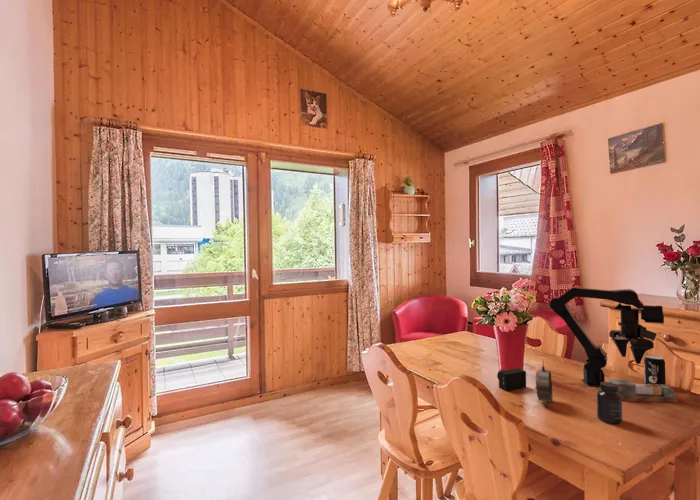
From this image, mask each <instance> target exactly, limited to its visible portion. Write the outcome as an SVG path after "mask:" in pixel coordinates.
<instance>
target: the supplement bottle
mask: <svg viewBox="0 0 700 500" xmlns="http://www.w3.org/2000/svg"><path fill="white" fill-rule="evenodd" d="M596 416H597V418H598V420H600V421H601V422H603V423H605V424H607V425H608V424H609V425H615V426H617V425H618V426H619V425H621V424H622V423H623V400H622V397H621V395H620V394H619V393H618V385H616V384H614V383H611V382H609V381H605V382H600V386H599V390H597V392H596Z"/></svg>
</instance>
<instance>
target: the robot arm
mask: <svg viewBox="0 0 700 500" xmlns="http://www.w3.org/2000/svg"><path fill="white" fill-rule="evenodd" d="M576 297H577V298H589V299H596V300H597V299H598V300H605V301H607V300H608V301H612V302H616V303H618V304H617V305H615V306H614V309H615V310H619V312H620V322H618V326H620V329H611V330H610V331H609V334H608V336H609V338H610V339H611V340H612V342H613V343H614V345H615V346H616V348H617V350H618V352H619V353H620V356H621V357H622V358H626V356H627V350H628V349H627V347H628V344H630V346H629V348H630V350H631V353H632V356H633V359H634V362H635V363H636V365H640V364H641V362H642V360H643V358H644V356H645V353H646V352H647V351H651V350H652V349H654V348H655V345H654V344H655V343H654V341H655V340H656V338H657V337H656V336H657V332H654V331H651V330H648V329H647V327H646V326H643V325H642V324H640V320H642V321H644V323H650V324H660V325H661V324H662V325H664V323H665V316H664V312H663V311H664V309H663V305H650V304H649V305H645V304H644V302H643V301H641V300H640V299H639V295H638V293H637V292H636V290H634V289H631V288H627V289H626V288H625V289H624V288H623V289H612V290H610V289H609V290H608V289H598V288H597V289H596V288H589V287H588V288H586V287H577V286H572V287H571V288H569V290H567V291H566V292H565V293H563V294H562V295H561V296H555V297H553V298H552V299H551V300H550V301H549V303H548V304H549V308H550V309H551V310H552V311H553V312H554V313H555V314H556V315H558V316H559V317H560V318H561V319H562V320H563V321H564V323H565V324H566V325H567V327H568V329H570V331H571V333H572V334H573V335H574V336H575V338H576V339H577V341H578V342H579V344H580V345H581V346H582V347H583V349H584V352H585V354H586V356H587V359H586V360H585V361H584V364H583V369H582V370H583V373H582V374H583V379H582V378H581V381H582V382H583V383H584V384H586V385H587V386H589V387H592V386H593V387H600V382H606V379H605V378H606V377H605V376H606V375H605V373H604V370H603V369H604V368H605V367H606V366H607V363H608V353H607V352H606V351H605V350H604V349H603V347H602V345H601V344H600V345H598V346H597V345H596V344H595V343H594V342H593V341H592V340H591V338H590V337H589V335H588V334H587V333H586V331H585V330H584V328H582V326H581V325H580V323H579V321H577V319H576V318H575V316H574V315H573V314H572V311H571V308H570V306H569V304H568V303H569V302H570V301H572V300H573V299H574V298H576ZM632 306H633V307H632ZM639 312H640V313H639ZM639 314H640V315H639ZM639 317H640V318H639Z"/></svg>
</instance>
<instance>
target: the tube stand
mask: <svg viewBox="0 0 700 500" xmlns="http://www.w3.org/2000/svg"><path fill="white" fill-rule="evenodd" d="M608 382H611V383H614V384H616V385H618V393H619V394H620V395H621V397H622V401H632V402H635V401H636V402H653V401H654V402H658V403H660V402H661V403H675V404H676V403H677V402H678V401H677V398H676V397H675V389H674V388H672V387H670V386H668V387H669V388H670V389H663V392H664V395H651V394H636V385H635V384H636V383H633V382H632V381H630V380H628V379H608ZM659 385H663V384H659Z"/></svg>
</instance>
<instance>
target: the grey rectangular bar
mask: <svg viewBox="0 0 700 500" xmlns="http://www.w3.org/2000/svg"><path fill="white" fill-rule="evenodd" d="M634 384H635V385H636V394H651V395H664V392H663V389H670V388H671V387H670V386H668V385H659V384H645V383H634ZM669 387H670V388H669Z"/></svg>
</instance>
